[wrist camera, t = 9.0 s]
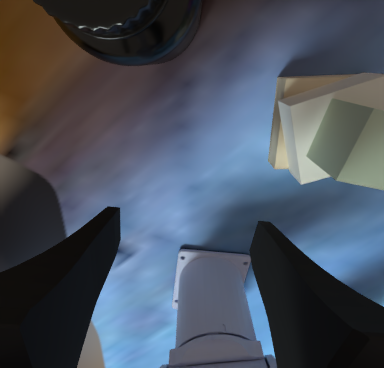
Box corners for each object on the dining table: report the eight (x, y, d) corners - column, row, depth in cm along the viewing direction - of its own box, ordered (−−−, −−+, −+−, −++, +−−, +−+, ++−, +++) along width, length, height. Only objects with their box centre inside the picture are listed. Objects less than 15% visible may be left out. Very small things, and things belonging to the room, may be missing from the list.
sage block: (357, 167, 18) (400, 193, 14) (306, 156, 17) (336, 180, 14) (388, 111, 16) (445, 125, 12) (332, 98, 16) (374, 108, 12)
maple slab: (341, 155, 23) (358, 166, 20) (266, 158, 23) (274, 169, 20) (362, 73, 20) (385, 74, 17) (275, 76, 20) (286, 78, 17)
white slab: (363, 149, 20) (385, 161, 18) (289, 171, 21) (301, 184, 18) (362, 72, 17) (388, 74, 15) (277, 100, 18) (290, 106, 16)
